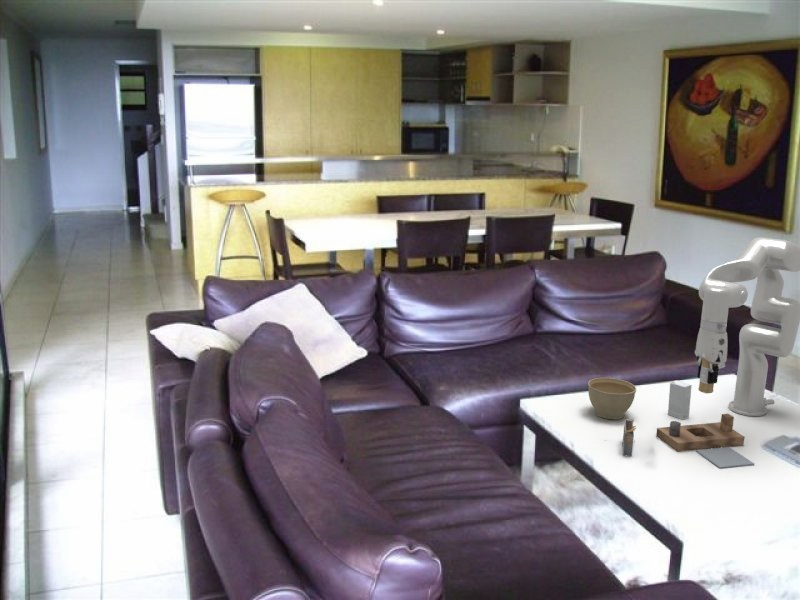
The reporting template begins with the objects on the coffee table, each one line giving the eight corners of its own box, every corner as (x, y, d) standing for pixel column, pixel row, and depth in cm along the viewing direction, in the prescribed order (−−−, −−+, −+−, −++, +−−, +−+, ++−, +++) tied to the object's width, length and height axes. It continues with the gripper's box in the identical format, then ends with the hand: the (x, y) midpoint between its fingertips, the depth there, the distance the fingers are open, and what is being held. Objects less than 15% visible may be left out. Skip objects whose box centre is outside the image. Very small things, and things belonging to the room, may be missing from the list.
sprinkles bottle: (705, 387, 255) (710, 348, 251) (716, 392, 251) (721, 352, 247) (694, 390, 253) (699, 350, 249) (705, 394, 249) (710, 354, 245)
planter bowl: (626, 427, 265) (629, 397, 262) (579, 417, 273) (582, 387, 270) (638, 411, 279) (641, 382, 276) (593, 402, 286) (595, 374, 284)
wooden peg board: (720, 430, 264) (723, 408, 262) (743, 445, 253) (746, 422, 251) (656, 436, 258) (658, 413, 256) (677, 452, 247) (679, 428, 245)
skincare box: (689, 417, 275) (693, 384, 272) (682, 420, 272) (685, 387, 269) (673, 411, 279) (677, 379, 276) (666, 414, 277) (669, 382, 274)
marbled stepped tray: (633, 457, 244) (636, 428, 241) (622, 456, 244) (625, 427, 242) (632, 442, 254) (635, 414, 252) (622, 441, 255) (625, 413, 253)
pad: (729, 448, 251) (729, 446, 250) (754, 465, 239) (754, 463, 239) (695, 451, 248) (696, 450, 248) (719, 468, 236) (719, 467, 236)
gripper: (741, 332, 239) (734, 389, 244) (707, 317, 255) (701, 370, 259) (719, 333, 237) (712, 390, 242) (687, 318, 253) (681, 372, 258)
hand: (707, 379), depth 251 cm, fingers closed on sprinkles bottle, 4 cm apart
